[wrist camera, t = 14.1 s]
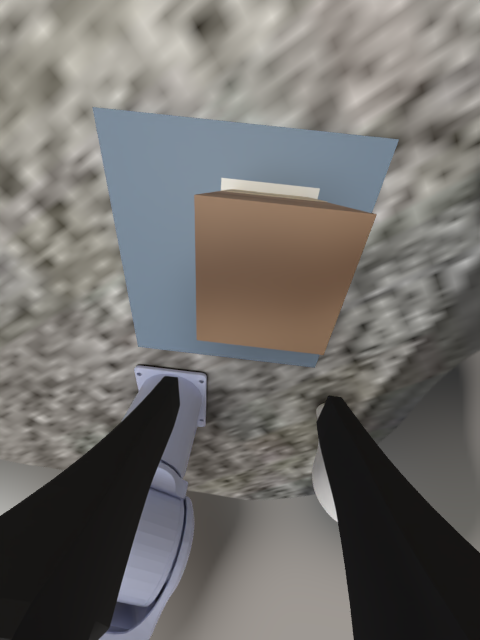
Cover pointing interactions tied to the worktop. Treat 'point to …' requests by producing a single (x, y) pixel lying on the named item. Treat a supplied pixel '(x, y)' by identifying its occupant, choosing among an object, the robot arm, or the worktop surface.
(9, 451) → the worktop surface
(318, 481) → the lightbulb
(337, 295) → the walnut block
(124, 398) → the worktop surface
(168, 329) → the board
